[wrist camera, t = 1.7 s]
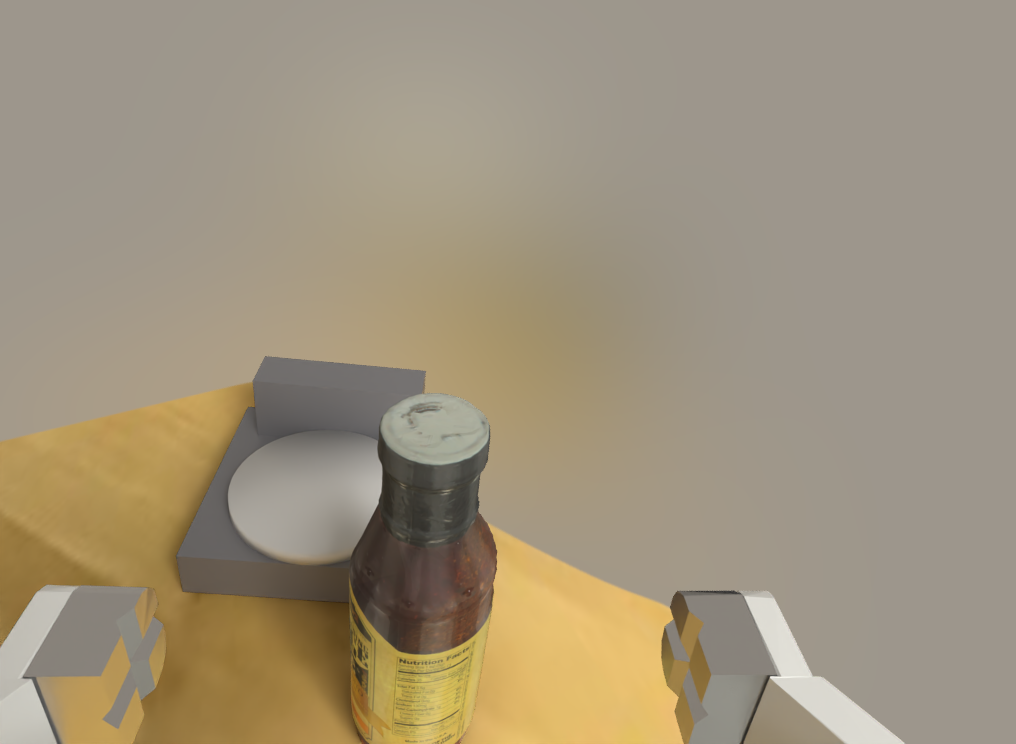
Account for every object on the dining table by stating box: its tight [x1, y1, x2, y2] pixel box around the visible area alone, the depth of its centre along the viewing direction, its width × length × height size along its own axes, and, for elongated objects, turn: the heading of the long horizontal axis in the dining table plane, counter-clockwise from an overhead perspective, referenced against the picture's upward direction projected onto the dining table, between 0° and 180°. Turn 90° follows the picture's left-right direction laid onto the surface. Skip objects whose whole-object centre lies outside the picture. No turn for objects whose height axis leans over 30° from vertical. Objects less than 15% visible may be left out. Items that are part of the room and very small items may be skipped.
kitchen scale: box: [176, 356, 426, 603], centre depth 47 cm, size 14×14×8 cm
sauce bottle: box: [349, 393, 497, 744], centre depth 32 cm, size 6×6×20 cm
